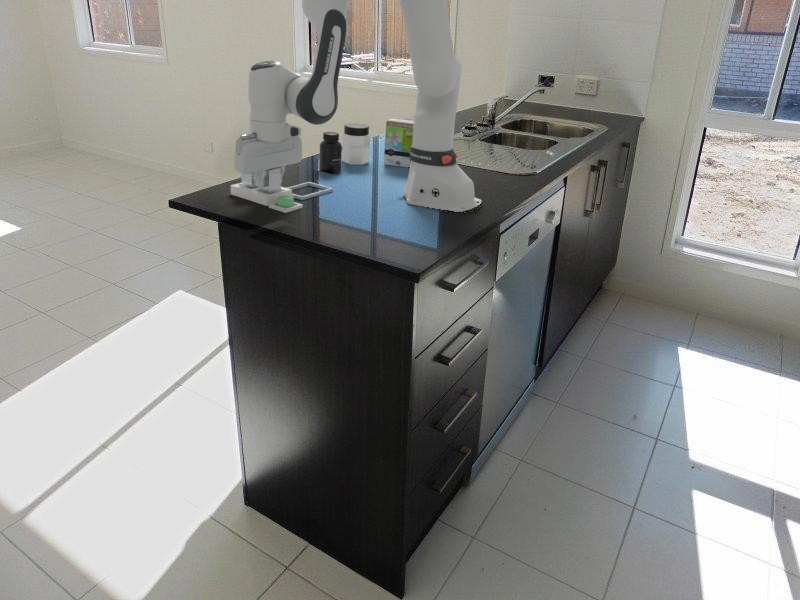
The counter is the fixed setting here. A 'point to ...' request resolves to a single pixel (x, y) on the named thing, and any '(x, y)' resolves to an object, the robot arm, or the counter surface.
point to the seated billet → (249, 181)
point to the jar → (356, 144)
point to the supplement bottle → (330, 153)
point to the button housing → (285, 210)
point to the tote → (325, 190)
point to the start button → (285, 201)
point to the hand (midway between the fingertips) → (270, 185)
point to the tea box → (398, 141)
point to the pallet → (258, 194)
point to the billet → (272, 181)
